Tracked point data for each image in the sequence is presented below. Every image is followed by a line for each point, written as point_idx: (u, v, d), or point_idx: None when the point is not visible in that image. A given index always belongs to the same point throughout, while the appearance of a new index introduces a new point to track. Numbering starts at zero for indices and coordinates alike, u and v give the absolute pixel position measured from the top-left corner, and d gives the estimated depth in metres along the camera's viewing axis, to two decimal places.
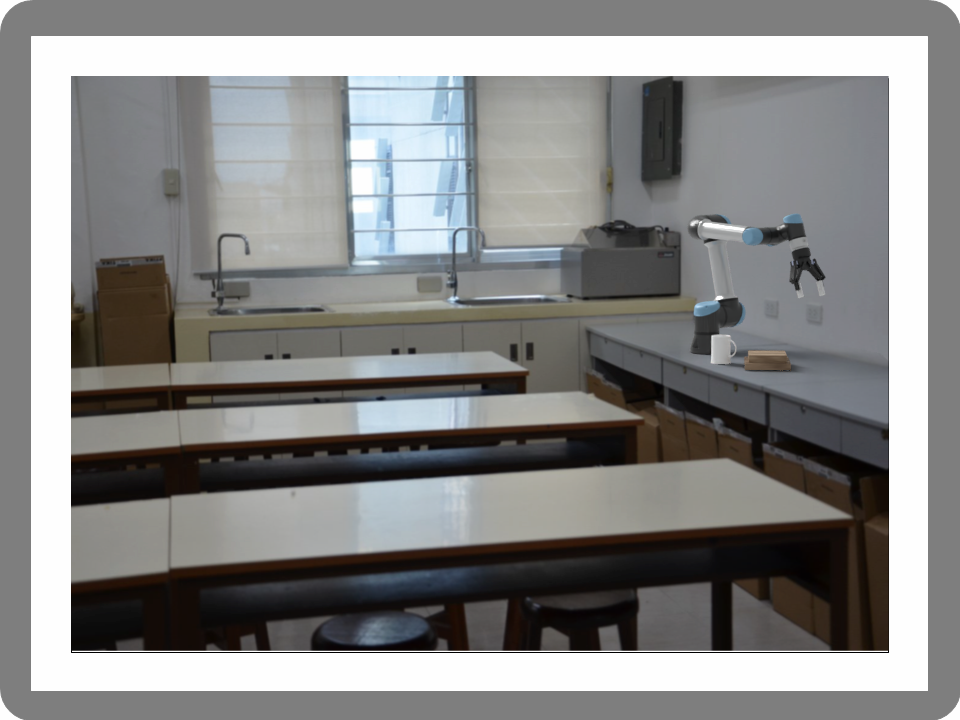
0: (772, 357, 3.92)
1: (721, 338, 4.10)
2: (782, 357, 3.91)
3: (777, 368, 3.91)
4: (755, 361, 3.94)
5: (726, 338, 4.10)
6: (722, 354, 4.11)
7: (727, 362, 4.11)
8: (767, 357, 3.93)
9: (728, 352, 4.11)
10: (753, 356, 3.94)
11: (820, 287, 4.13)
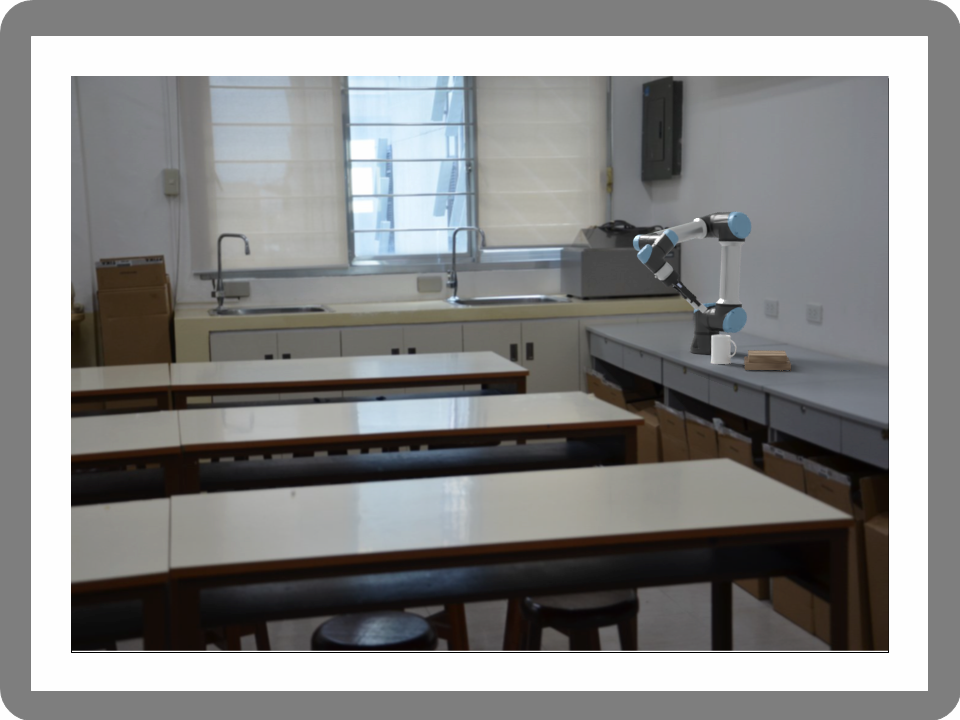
0: (772, 357, 3.92)
1: (721, 338, 4.10)
2: (782, 357, 3.91)
3: (777, 368, 3.91)
4: (755, 361, 3.94)
5: (726, 338, 4.10)
6: (722, 354, 4.11)
7: (727, 362, 4.11)
8: (767, 357, 3.93)
9: (728, 352, 4.11)
10: (753, 356, 3.94)
11: None
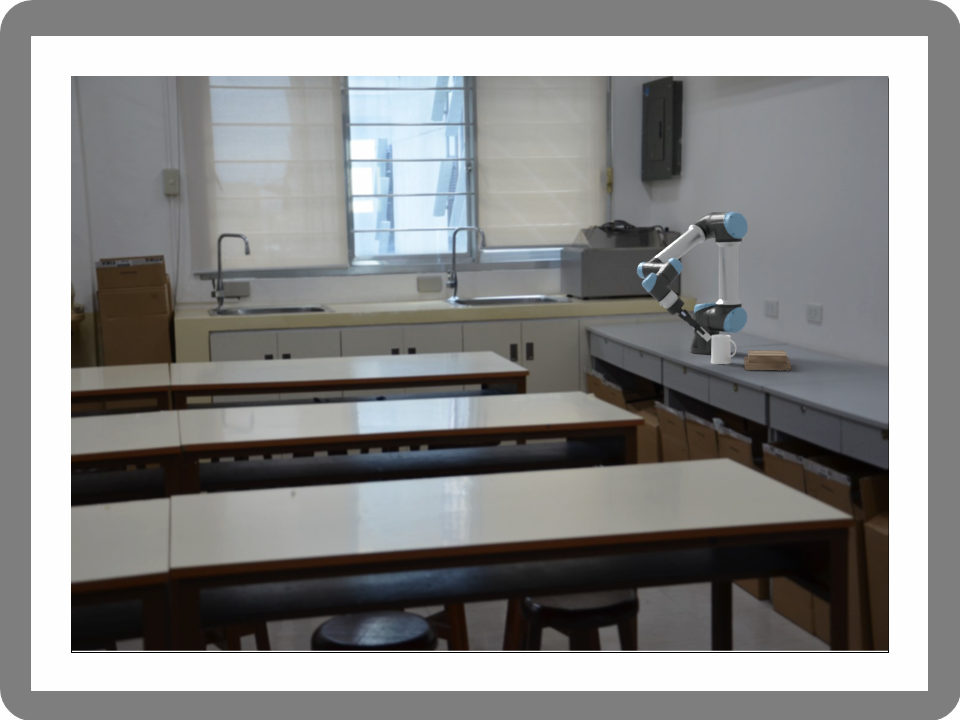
0: (772, 357, 3.92)
1: (721, 338, 4.10)
2: (782, 357, 3.91)
3: (777, 368, 3.91)
4: (755, 361, 3.94)
5: (726, 338, 4.10)
6: (722, 354, 4.11)
7: (727, 362, 4.11)
8: (767, 357, 3.93)
9: (728, 352, 4.11)
10: (753, 356, 3.94)
11: None
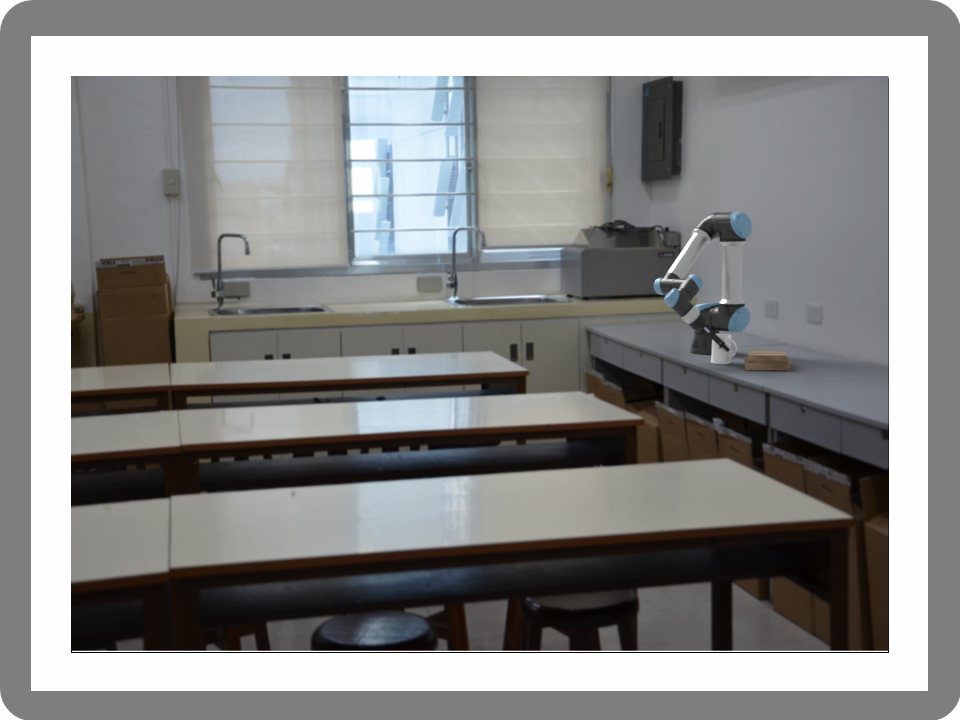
0: (772, 357, 3.92)
1: (722, 338, 4.09)
2: (782, 357, 3.91)
3: (777, 368, 3.91)
4: (755, 361, 3.94)
5: (727, 338, 4.09)
6: (722, 354, 4.10)
7: (727, 362, 4.11)
8: (767, 357, 3.93)
9: None
10: (753, 356, 3.94)
11: None
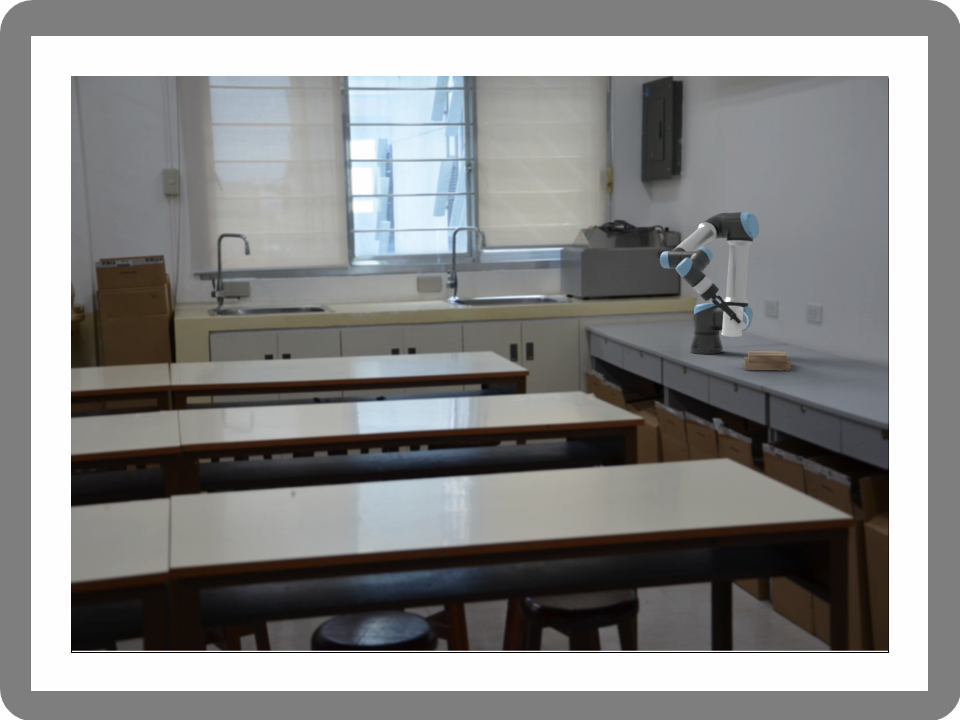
0: (772, 357, 3.92)
1: (733, 310, 4.01)
2: (782, 357, 3.91)
3: (777, 368, 3.91)
4: (755, 361, 3.94)
5: (738, 310, 4.01)
6: (733, 326, 4.02)
7: (738, 334, 4.03)
8: (767, 357, 3.93)
9: None
10: (753, 356, 3.94)
11: None
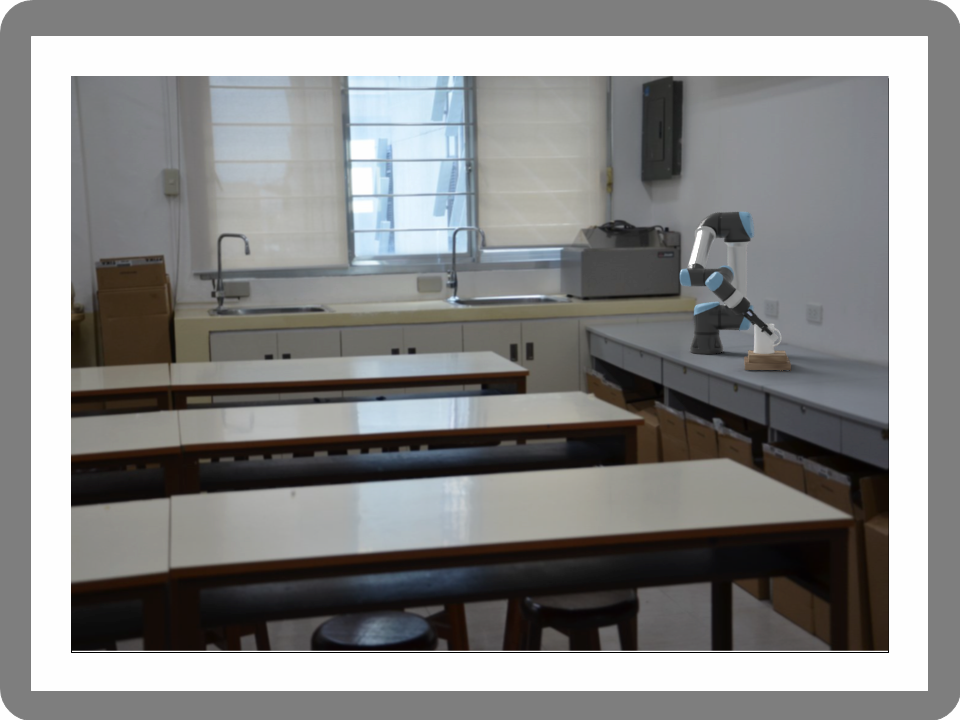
0: (772, 357, 3.92)
1: None
2: (782, 357, 3.91)
3: (777, 368, 3.91)
4: (755, 361, 3.94)
5: (770, 326, 3.96)
6: (766, 343, 3.97)
7: (771, 351, 3.98)
8: (767, 357, 3.93)
9: (772, 341, 3.97)
10: (753, 356, 3.94)
11: None
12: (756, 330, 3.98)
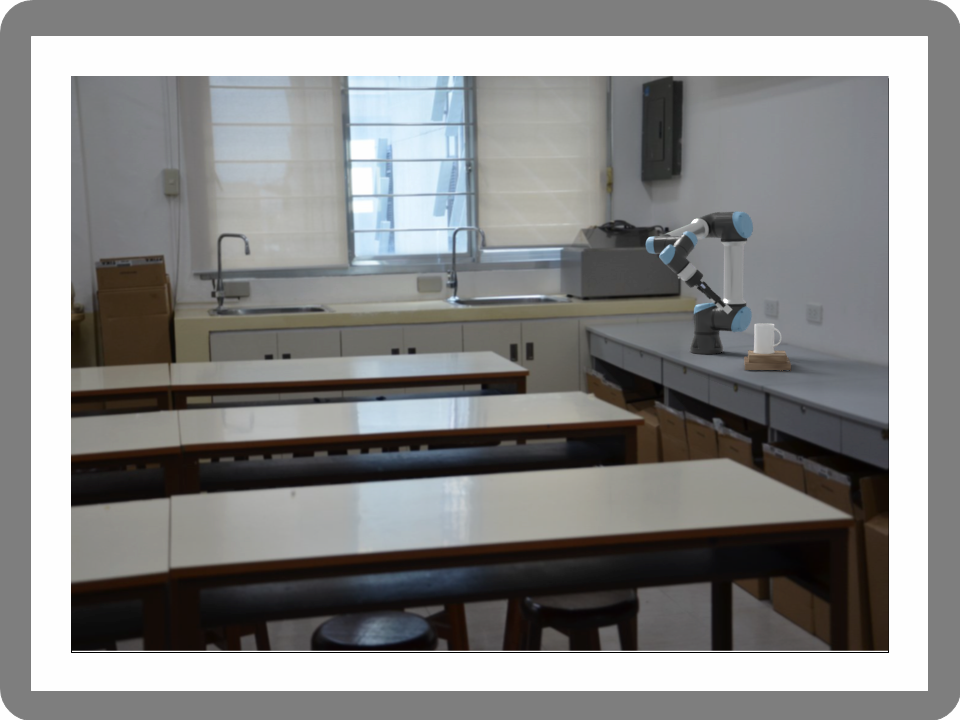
0: (772, 357, 3.92)
1: (765, 327, 3.96)
2: (782, 357, 3.91)
3: (777, 368, 3.91)
4: (755, 361, 3.94)
5: (770, 326, 3.96)
6: (766, 343, 3.97)
7: (771, 351, 3.98)
8: (767, 357, 3.93)
9: (772, 341, 3.97)
10: (753, 356, 3.94)
11: None
12: (756, 330, 3.98)
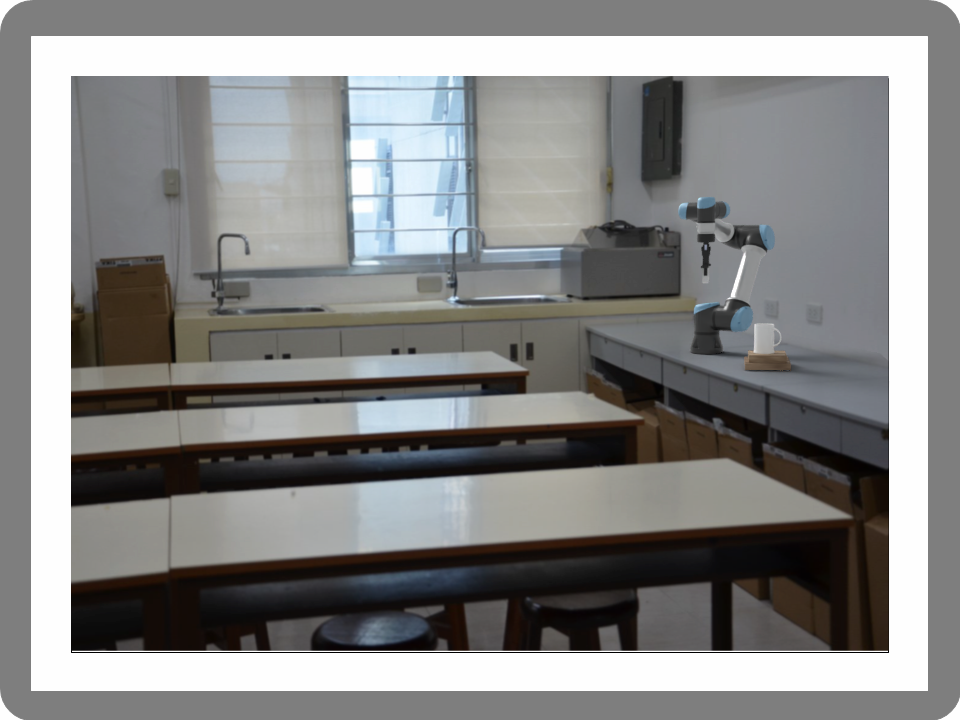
0: (772, 357, 3.92)
1: (765, 327, 3.96)
2: (782, 357, 3.91)
3: (777, 368, 3.91)
4: (755, 361, 3.94)
5: (770, 327, 3.96)
6: (766, 343, 3.97)
7: (771, 351, 3.98)
8: (767, 357, 3.93)
9: (772, 341, 3.97)
10: (753, 356, 3.94)
11: None
12: (756, 330, 3.98)
